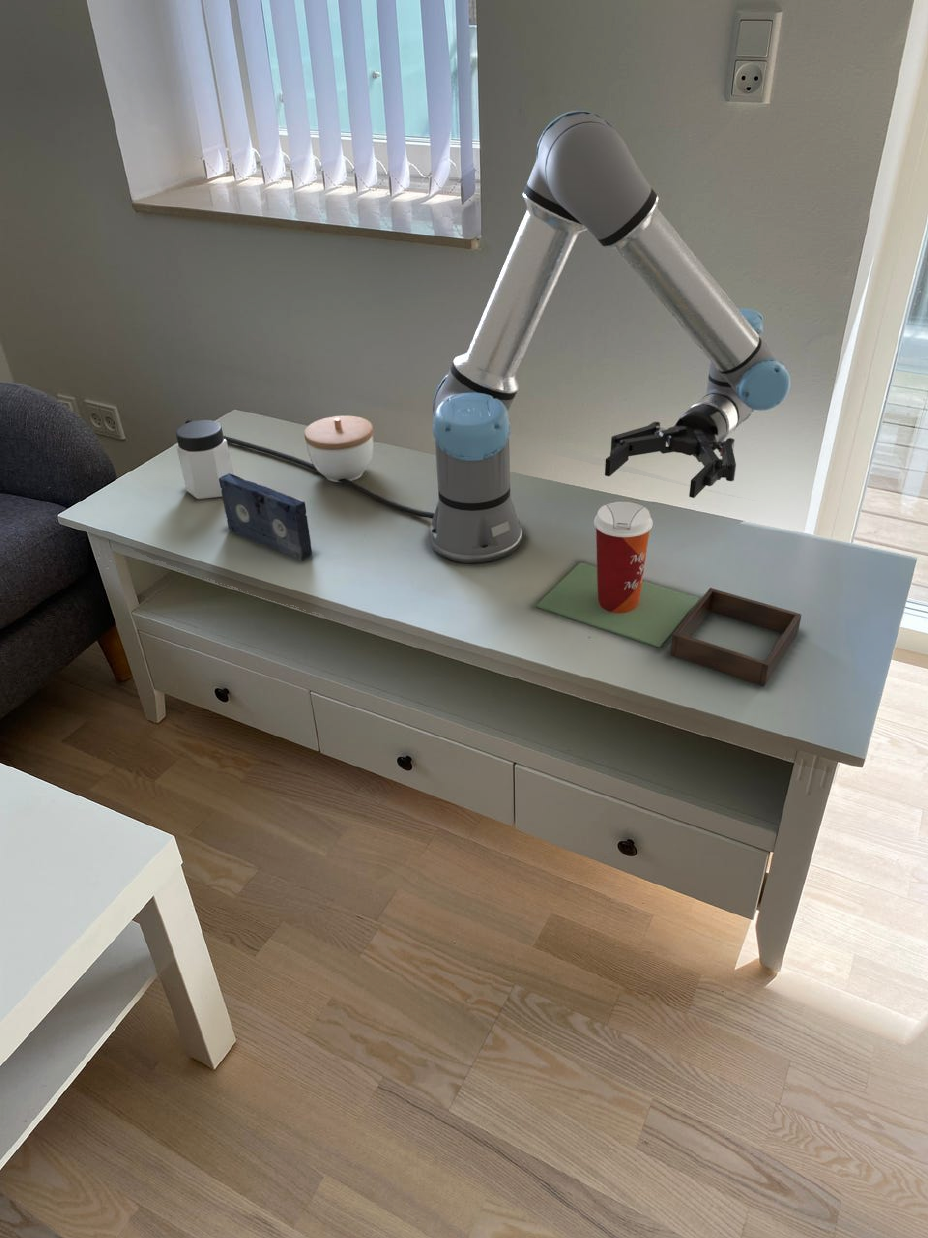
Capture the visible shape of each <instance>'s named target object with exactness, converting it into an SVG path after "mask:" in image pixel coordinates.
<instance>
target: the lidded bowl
mask: <svg viewBox="0 0 928 1238" xmlns="http://www.w3.org/2000/svg"><path fill="white" fill-rule="evenodd" d="M303 434H304V440H305V443H306V449H307V453H308V456H309V459H310V461H311V464H313V465H314V467H315V468H316V469H317V470H318V471H319V472H318V473H320V474H321V475H322V476H324V477H325V479H327V481H329V482H333V483H340V482H339V481H338V480H340V479H347V480H349V481H351V482H353V481H356V480H358V479H360V478H361V477H362V476H363V475H364V472H365V471H366V470H367V468H369V466H370V464H371V462H372V459H373V456H374V447H375V442H374V425H373V424H372V422H371V421H370V420H368V419H366V418H364V417H362V416H361V417H360V416H357V415H345V414H344V415H333V416H328V417H324V418H320V419H317V420H315V421H313V422H312V423H310V424H309V425H307V427H305V430H304V433H303Z"/></svg>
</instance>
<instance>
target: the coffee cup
mask: <svg viewBox="0 0 928 1238" xmlns="http://www.w3.org/2000/svg"><path fill="white" fill-rule="evenodd" d="M653 525H654V522H653V519H652V517H651V514H650V511H649V509H648V508H647V507H645V506H644V505H641V504H639V503H635V502H632V501H615V502H609V503H606V504H604V505H602V506H601V507H599V509H598V511H597V513H596V515H595V517H594V519H593V526H594V527H595V535H596V536H595V537H596V539H595V540H596V567H597V583H598V601H599V605H600V606H601V607H602V608H603V609H605V610H607V611H609V612H613V613H626V612H630V611H632V610H634V609H635V608H636V607H637V606H638V603H639V598H640V592H641V586H642V581H643V579H644V573H645V572H644V571H645V565H646V558H647V552H648V551H647V550H648V543H649V536H650V530H651V529H652V528H653Z"/></svg>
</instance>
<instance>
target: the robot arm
mask: <svg viewBox="0 0 928 1238" xmlns="http://www.w3.org/2000/svg"><path fill="white" fill-rule="evenodd" d="M535 152H536V155H535V162H534V164H533V167H532V170H531V172H530V174H529V177H528V180H527V182H526V184H525V187H524V190H523V192H522V197H523V200H524V203H525V206H526V211H525V214H524V216H523V219H522V221H521V223H520V226H519V228H518V229H517V230H518V231H517V233H516V235H515V237H514V240H513V242H512V245H511V247H510V249H509V251H508V254H507V256H506V258H505V261H504V264H503V266H502V268H501V271H500V274H499V275H498V278H497V280H496V282H495V285H494V287H493V289H492V292H491V294H490V296H489V299H488V301H487V305H486V306H485V308H484V311H483V314H482V316H481V318H480V320H479V323H478V325H477V327H476V330H475V333H474V335H473V338H472V340H471V342H470V345H469V347H468V349H467V352H465V353H462V354H460V355H457V356H455V357H454V359H453V361H452V364H451V366H450V368H449V371H448V373H447V374H446V375H445V376H444V377H443V378H442V380H441V381H440V383H439V384H438V386H437V388H436V390H435V393H434V397H433V403H432V412H433V422H432V434H433V438H434V448H435V450H434V451H435V464H436V466H435V467H436V479H437V480H436V481H437V494H438V496H437V497H438V500H437V504H436V507H435V510H434V512H430V511H423V510H418V509H415V508H411V507H408V506H405V505H403V504H399V503H397V502H395V501H391V500H389V499H386V498H385V497H382V496H380V495H379V494H376V493H375V492H372V491H371V490H369V489H367V488H365V487H363V486H361V485H360V484H358V483H355V482H353V481H349V480H347V479H340V480H338V481H339V482H338V483H342V484H343V485H345V486H348V487H350V488H352V489H353V490H356V491H357V492H359V493H362V494H363V495H365V496H367V497H369V498H370V499H372V500H374V501H376V502H377V503H380V504H383V505H385V506H387V507H390V508H392V509H394V510H397V511H400V512H403V513H406V514H409V515H412V516H415V517H416V516H417V517H420V518H426V519H427V518H428V519H432V521H431V524H430V526H429V527H430V528H429V541H430V546H431V548H432V550H433V551H434V552H436V554H438V555H439V556H441V557H443V558H445V559H448V560H450V561H454V562H458V563H459V562H460V563H465V564H467V563H468V564H479V563H488V562H493V561H497V560H500V559H503V558H505V557H507V556H509V555H511V554H512V553H514V552H516V551H517V549H518V548H519V547H520V546H521V544H522V540H523V529H522V523H521V521H520V519H519V517H518V514H517V511H516V508H515V506H514V503H513V500H512V497H511V463H510V462H511V461H510V460H511V458H510V456H511V455H510V454H511V452H510V434H511V421H510V418H509V410H510V408H511V406H512V404H513V402H514V399H515V398H516V395H517V393H518V390H519V389H520V386H519V385H520V384H519V382H518V380H517V377H516V374H517V371H518V369H519V367H520V364H521V362H522V359H523V357H524V355H525V353H526V351H527V349H528V347H529V344H530V342H531V340H532V338H533V335H534V333H535V331H536V329H537V326H538V325H539V322H540V319H541V318H542V316H543V313H544V311H545V309H546V307H547V305H548V302H549V300H550V298H551V296H552V294H553V291H554V289H555V287H556V285H557V283H558V281H559V278H560V276H561V274H562V273H563V269H564V267H565V265H566V263H567V260H568V258H569V257H570V254H571V251H572V250H573V247H574V245H575V243H576V241H577V238H578V236H579V235H580V234H581V233H583V232H586V231H589V232H590V233H591V234H592V236H593V237H594V238H595V239H596V241H598V242H599V244H600V245H601V246H602V247H603V248H604V249H615V251H617V253H618V254H619V255H620V257H622V258H623V260H624V262H625V263H627V265H628V266H629V267H630V268H631V269H632V271H633V272H634V273H635V274H636V275H637V276H638V278H639V279H640V280H641V281H642V282H643V283H644V284H645V286H646V287H647V288H648V290H649V291H650V292H651V293H652V294H653V295H654V297H655V298H656V299H657V300H658V301H659V302H660V303H661V305H662V306H663V307H664V308H665V309H666V311H667V312H669V314H670V315H671V317H672V318H673V319H674V320H675V321H676V322H677V324H678V325H679V326H680V327H681V328H682V330H683V331H684V332H686V335H688V337H689V338H690V339H691V340H692V341H693V342H694V343H695V345H696V346H697V347H698V348H699V350H700V351H701V352H702V353H703V354H704V355H705V356H706V358H707V359H708V361H709V367H708V368H709V369H708V370H709V371H708V376H707V377H708V378H707V385H706V393H705V395H704V396H703V397H702V398H700V400H697V402H696V403H694V404H693V405H692V406H691V407H690V408H689V409H688V410H686V411H685V412H684V413H683V414H682V415H681V416H680V417H679V418H678V420H677V421H676V423H675V424H674V425H673V426H670V427H668V428H664V427H661V422H659V421H653V422H651V423H649V424H648V425H646V426H643V427H638V428H635V429H632V430H628V431H625V432H622V433H618V434H614V435H612V436H611V437H610V452H609V455H608V456H607V458H605V463H604V466H605V467H604V468H605V469H604V476H606V477H611V476H612V475H613V474H614V473H615V472H616V471H618V469H620V468H621V467H622V466H624V465H625V464H626V463H627V462H628V461H629V460H630V459H629V457H634V456H640V455H646V454H652V453H658V452H660V453H661V454H670V453H678V454H683V455H686V456H693V457H695V459H696V461H697V462H698V463H701V464H702V465H703V467H702V468H701V469H700V470H699V471H698V473H696V474H695V475H694V476H693V477H692V478H691V479H690V485H689V494H688V497H689V498H692V499H695V498H696V497H697V496H698V495H699V493H701V491H703V490H704V488H705V487H712V486H713V485H714V484H716V482H717V481H720V480H721V479H725V480H726V481H727V482H734V481H735V475H736V469H737V463H736V458H735V453H734V448H735V441H736V440H735V439H734V438H731V437H729V436H730V435H731V434H732V433H733V432H734V431H735V430H736V429H737V428H738V426H740V425H741V424H742V423H744V422H745V421H746V420H747V419H749V418H750V416H751V415H752V413H753V412H754V411H760V412H762V411H763V412H764V411H768V410H771V409H774V408H775V407H777V406H778V405H780V404H781V403H782V402H783V401H784V400H785V399H786V398H787V396H788V394H789V392H790V388H791V377H790V374H789V372H788V371H787V368H786V366H785V364H784V363H783V362H781V361H780V360H779V358H778V357H777V356H776V355H775V354H774V353H773V352H772V350H771V349H770V347H769V346H768V345H767V344H766V342H765V341H764V340H763V339H762V335H763V333H764V329H763V327H764V316H763V315H762V314H761V313H760V312H759V311H757V310H755V309H750V308H744V307H737V305H736V304H735V303H733V301H732V300H731V298H730V297H729V296H728V295H727V293H726V292H725V291H724V290H723V288H722V287H721V286H720V284H719V283H718V282H717V281H716V279H714V278H713V276H712V275H711V273H710V272H709V271H708V269H706V267H705V266H704V265H703V263H702V261H700V260H699V258H698V257H697V256H696V255H695V253H694V252H693V251H692V250H691V248H690V247H689V246H688V245H687V243H686V242H685V240H683V238H682V237H681V236H680V235H679V233H678V232H677V231H676V229H675V228H674V227H673V225H672V224H671V223H670V222H669V221H668V219H667V218H666V217H665V216H664V215H663V213H662V212H661V210H660V209H659V208H658V206H659V195H658V194H657V193H656V192H655V190H654V189H653V187H652V186H651V184H650V183H649V182H648V181H647V180H646V177H644V175H643V173H642V172H641V170H640V168H639V166H638V164H637V163H636V161H635V159H634V157H633V155H632V154H631V152H630V150H629V148H628V146H627V145H626V142H625V141H624V140H623V138H622V137H621V135H620V134H619V133H618V132H617V131H616V130H615V129H614V128H613V127H612V125H611V123H610V122H609V121H608V120H607V119H605V118H603V117H601V116H600V115H599V114H597V113H593V112H590V111H586V110H571V111H568V112H565V113H563V114H560V115H559V116H557V117H555V118H554V119H553V120H552V121H550V123H549V124H548V125H547V126H546V127H545V128H544V129H543V131H542V133H541V136H540V137H539V139H538V142H537V146H536V150H535ZM193 421H194V420H192V419H187V420H186V421H185V423H184V424H186V423H189V422H193ZM223 437H224V439H226V440H227V443H229V444H230V443H231V444H233V445H237V446H241V447H244V448H248V449H251V450H254V451H258V452H261V453H265V454H267V455H271V456H273V457H277V458H279V459H283V460H286V461H289V462H292V463H294V464H297V465H300V466H302V467H305V468H308V469H310V470H313V471H314V472H317V473H320V472H319V471H318V470H317V469H316V468H315V467H314V465H313V464H312V462H309V461H307V460H303V459H302V458H301V459H300V458H298V457H295V456H292V455H290V454H287V453H284V452H281V451H277V450H274V449H271V448H268V447H264V446H261V445H258V444H254V443H252V442H251V443H250V442H248V441H244V440H241V439H236V438H233V437H229V436H227V435H223ZM716 450H717V451H718V453H719V456H718V455H717V454H716V453H715V451H716ZM719 457H721V458H719Z"/></svg>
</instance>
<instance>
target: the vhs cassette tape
mask: <svg viewBox="0 0 928 1238" xmlns="http://www.w3.org/2000/svg"><path fill="white" fill-rule="evenodd" d="M219 483H220V488H222V490H221V492H222V501H223V502H222V503H223V507H224V513H225V516H226V523H227V526H228V527H227V528H228V530H229V531H230V532H233V533H235V534H237V535H240V536H242V537H245V538H247V539H249V540H251V541H254V542H257V543H258V544H261V545H263V546H266V547H268V548H270V549H273V550H274V551H277V552H280V553H282V554H285V555H288V557H289V556H290V557H292V558H294V559H296V560H299V561H304V560H306V559H307V558H309V557H310V556H312V555H313V550H312V542H311V535H310V534H311V533H310V527H309V520H308V515H307V507H306V502H305V501H304V500H303V501H302V500H299V499H298V498H294V497H292V496H289V495H288V494H287V495H286V494H285V493H282V492H279V491H276V490H274V489H273V488H269V487H267V486H265V485H260V484H258V483H256V482H254V481H251V480H245V479H244V478H242V477H240V476H238V475H235V474H234V473H233V474H230V473H228V474H226V475H224V476H222V477H220V478H219Z"/></svg>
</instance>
